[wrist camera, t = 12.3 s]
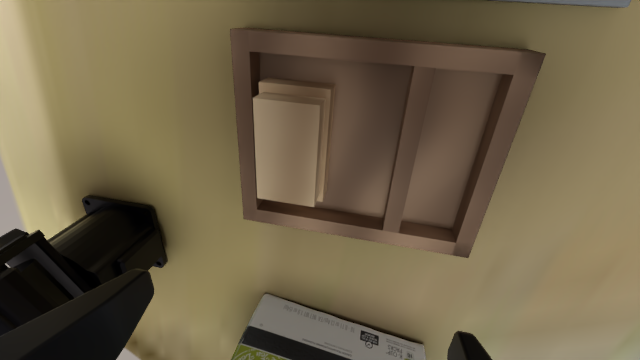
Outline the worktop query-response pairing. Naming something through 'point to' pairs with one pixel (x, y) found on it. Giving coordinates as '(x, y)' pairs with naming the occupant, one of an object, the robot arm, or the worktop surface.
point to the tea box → (315, 337)
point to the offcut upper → (288, 147)
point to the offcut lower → (328, 93)
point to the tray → (392, 132)
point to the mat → (579, 2)
